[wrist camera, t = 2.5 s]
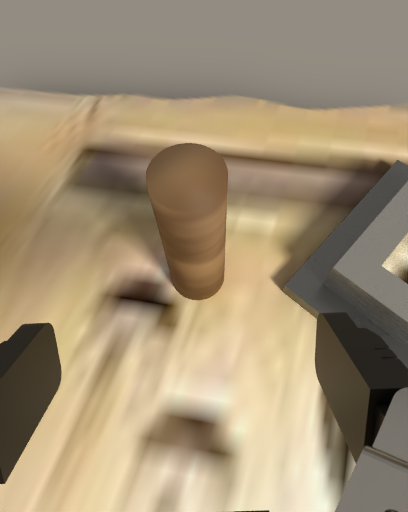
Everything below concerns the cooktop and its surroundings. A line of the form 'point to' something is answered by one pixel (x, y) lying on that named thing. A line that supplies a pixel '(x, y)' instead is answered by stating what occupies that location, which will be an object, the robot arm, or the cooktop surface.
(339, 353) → the robot arm
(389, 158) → the cooktop surface
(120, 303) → the cooktop surface
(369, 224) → the plate
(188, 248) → the dowel pin
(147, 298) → the cooktop surface
